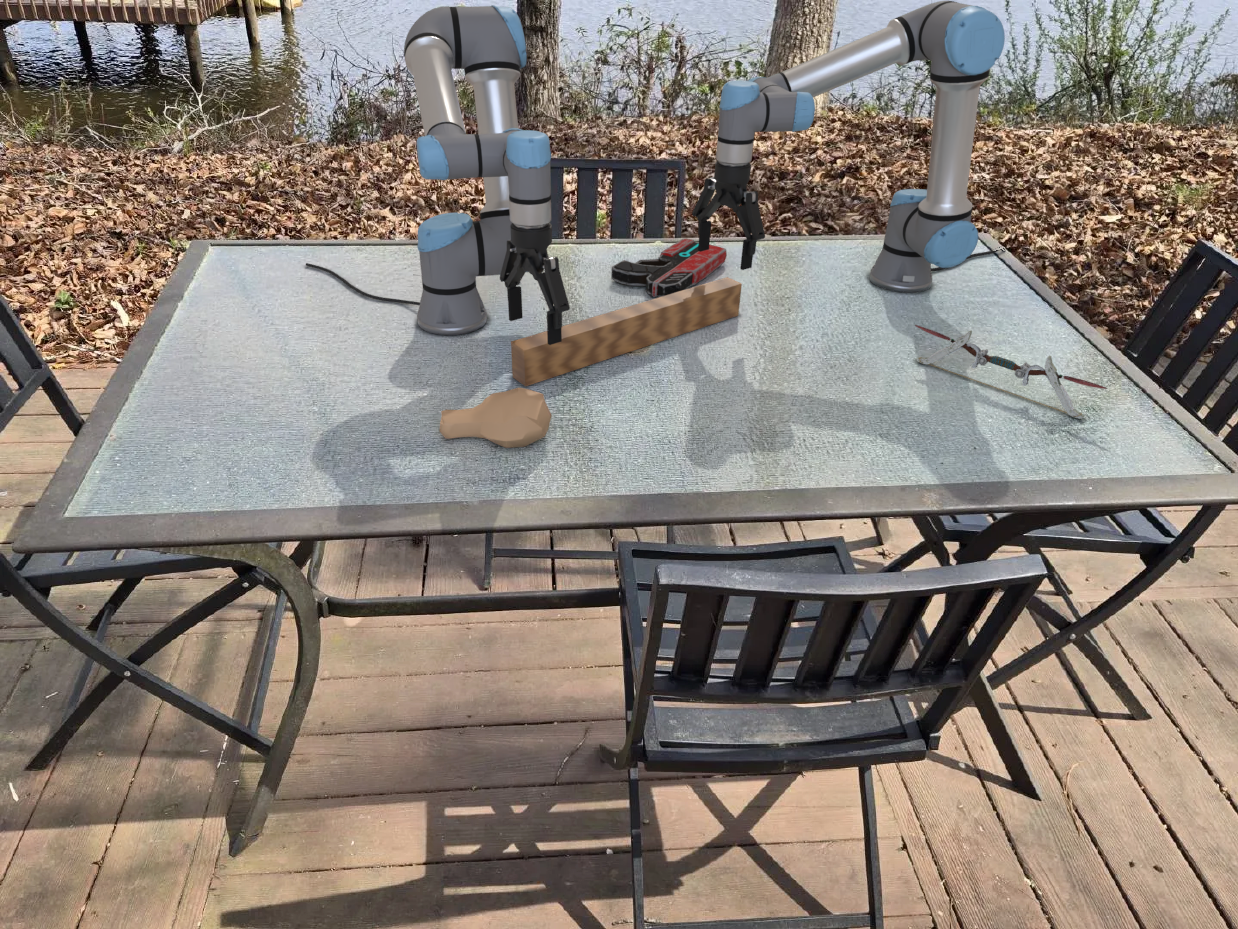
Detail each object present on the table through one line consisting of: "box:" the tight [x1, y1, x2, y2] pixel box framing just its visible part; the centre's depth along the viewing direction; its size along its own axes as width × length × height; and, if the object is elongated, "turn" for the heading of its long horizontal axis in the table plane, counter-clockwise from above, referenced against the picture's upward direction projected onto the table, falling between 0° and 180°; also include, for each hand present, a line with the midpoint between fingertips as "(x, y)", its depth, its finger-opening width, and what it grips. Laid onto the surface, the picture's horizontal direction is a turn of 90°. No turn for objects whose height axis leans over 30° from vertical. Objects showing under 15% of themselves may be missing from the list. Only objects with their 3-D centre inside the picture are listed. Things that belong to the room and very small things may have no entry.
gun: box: [610, 237, 728, 298], centre depth 222 cm, size 4×31×19 cm
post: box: [510, 276, 743, 387], centre depth 188 cm, size 59×5×8 cm, turn 128°
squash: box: [438, 387, 553, 449], centre depth 154 cm, size 11×20×9 cm, turn 90°
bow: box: [914, 324, 1108, 420], centre depth 174 cm, size 39×2×10 cm, turn 47°
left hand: (534, 330), depth 170 cm, fingers open, 13 cm apart
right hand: (724, 259), depth 195 cm, fingers open, 13 cm apart
